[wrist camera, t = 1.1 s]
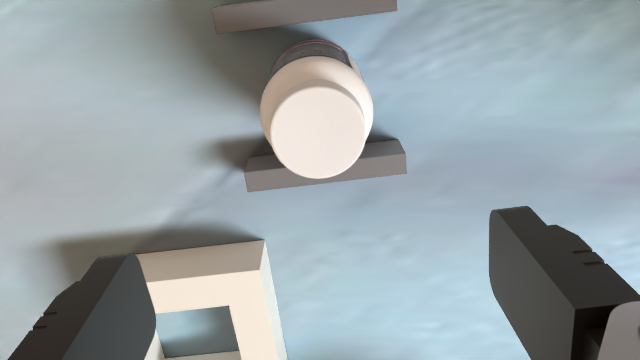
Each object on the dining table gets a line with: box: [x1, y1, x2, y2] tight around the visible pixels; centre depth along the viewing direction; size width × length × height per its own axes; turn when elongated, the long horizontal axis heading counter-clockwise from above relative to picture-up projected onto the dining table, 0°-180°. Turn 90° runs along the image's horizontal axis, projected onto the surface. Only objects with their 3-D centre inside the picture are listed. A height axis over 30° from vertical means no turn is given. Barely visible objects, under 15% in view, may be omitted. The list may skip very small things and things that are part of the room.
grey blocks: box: [212, 0, 407, 192], centre depth 27 cm, size 9×10×2 cm
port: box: [136, 240, 288, 360], centre depth 33 cm, size 11×11×4 cm
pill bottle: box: [260, 40, 373, 179], centre depth 24 cm, size 5×5×9 cm
